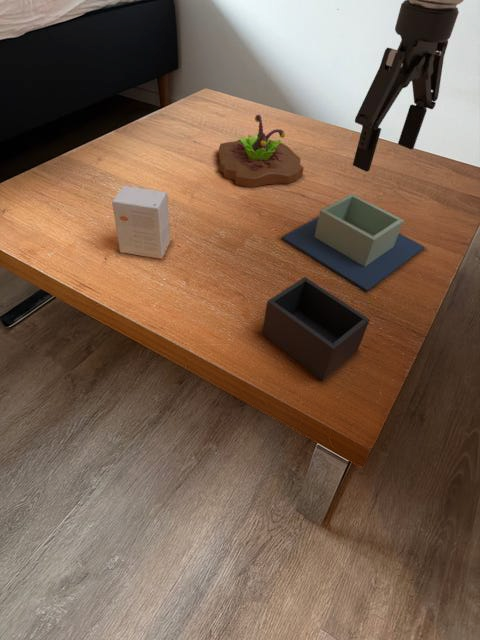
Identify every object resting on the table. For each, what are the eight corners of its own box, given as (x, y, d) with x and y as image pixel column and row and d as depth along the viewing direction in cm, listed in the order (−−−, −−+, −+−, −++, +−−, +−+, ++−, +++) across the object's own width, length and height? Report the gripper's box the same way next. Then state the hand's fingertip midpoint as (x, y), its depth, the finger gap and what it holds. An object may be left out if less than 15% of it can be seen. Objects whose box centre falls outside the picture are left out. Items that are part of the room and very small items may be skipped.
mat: (423, 248, 89) (424, 246, 89) (366, 292, 78) (367, 289, 78) (342, 205, 98) (343, 203, 98) (281, 239, 88) (282, 236, 87)
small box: (170, 242, 84) (168, 191, 77) (162, 260, 80) (158, 208, 73) (129, 235, 85) (123, 184, 77) (118, 252, 81) (111, 200, 73)
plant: (282, 145, 117) (288, 100, 109) (311, 182, 104) (321, 134, 97) (207, 150, 112) (208, 103, 104) (228, 189, 99) (231, 139, 91)
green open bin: (393, 246, 88) (404, 220, 84) (364, 267, 82) (374, 239, 78) (344, 219, 93) (351, 193, 89) (314, 236, 88) (320, 210, 84)
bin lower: (357, 351, 68) (370, 319, 63) (322, 381, 64) (333, 349, 59) (297, 309, 74) (305, 276, 69) (261, 334, 69) (267, 300, 64)
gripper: (449, -10, 68) (403, 131, 83) (354, 4, 55) (320, 168, 70) (497, 0, 65) (440, 145, 80) (407, 17, 51) (360, 188, 66)
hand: (384, 156), depth 75 cm, fingers open, 13 cm apart
